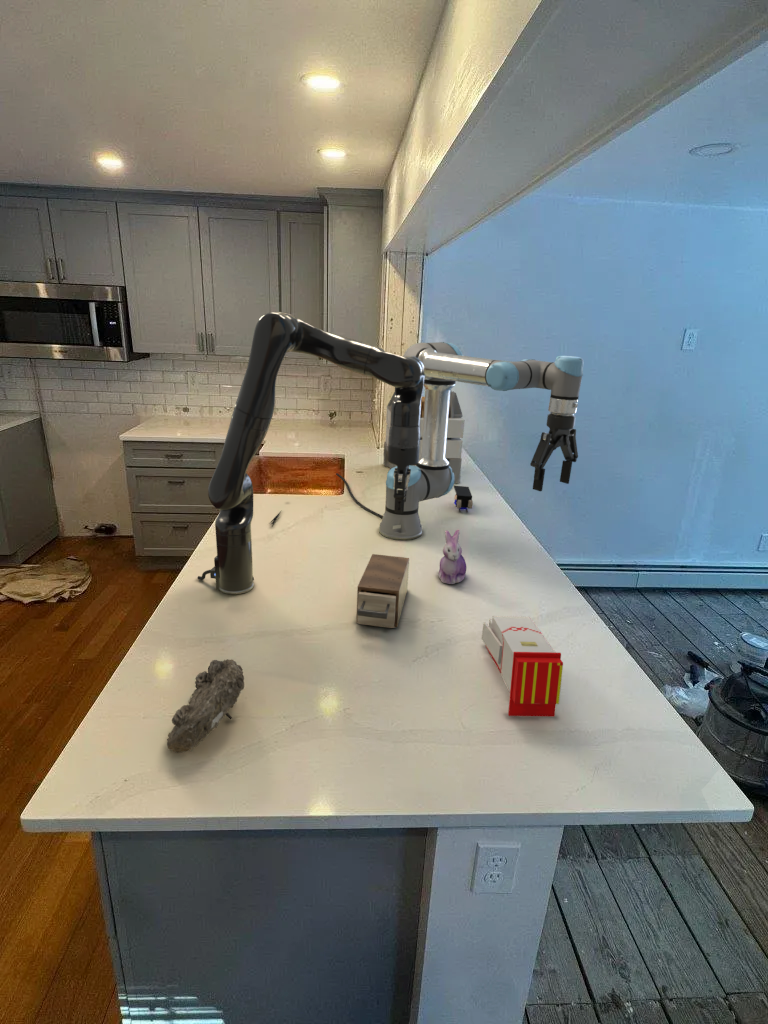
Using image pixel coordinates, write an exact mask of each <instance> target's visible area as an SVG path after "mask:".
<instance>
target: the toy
mask: <svg viewBox="0 0 768 1024" xmlns="http://www.w3.org/2000/svg"><path fill="white" fill-rule="evenodd" d="M481 632H482V633H481V640H482V642H483V644H484V646H485V648H486V650H487V652H488V654H489V655H490V657H491V659H492V661H493V663H494V664H495V666H496V668H497V670H498V671H499V674H500V676H501V678H502V680H503V682H504V684H505V687H506V688H507V690H508V692H509V700H508V702H509V703H508V710H507V711H508V712H507V715H508V717H551V718H552V717H553V718H555V716H556V707H557V705H559V704H560V698H561V697H560V695H561V688H562V687H561V686H562V678H563V669H564V662H563V661H562V653H561V652H556V651H555V649H554V648H553V647H552V645H551V644H550V643H549V641H548V639H547V638H546V637H545V635H544V634H543V633H542V631H541V630H540V629H539V628H538V626H537V624H536V622H535V621H534V620H533V619H532V617H531V616H514V615H513V616H512V615H511V616H508V615H507V616H506V615H505V616H504V615H492V618H489V620H488V623H487V621H483V623H482V631H481Z"/></svg>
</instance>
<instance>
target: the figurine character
mask: <svg viewBox="0 0 768 1024" xmlns="http://www.w3.org/2000/svg"><path fill="white" fill-rule="evenodd" d="M453 488H454V492H455V495H454V499H453V500H454V502H453V504H454V505H455V508H456V509H458V512H459V513H462V511H465V512H466V513H469V510H468V509H470V510H471V509H473V507H474V503H473V502H474V501H473V495H472V492H471V489H470V486H463V485H453Z"/></svg>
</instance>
